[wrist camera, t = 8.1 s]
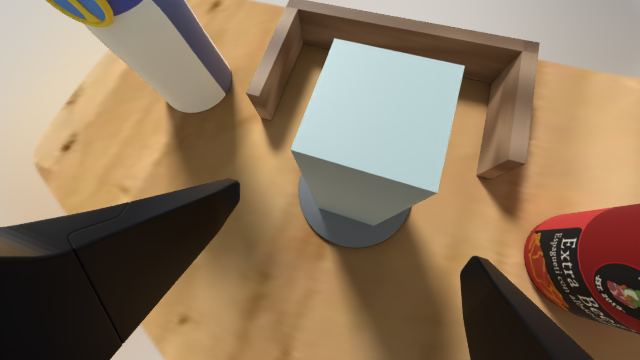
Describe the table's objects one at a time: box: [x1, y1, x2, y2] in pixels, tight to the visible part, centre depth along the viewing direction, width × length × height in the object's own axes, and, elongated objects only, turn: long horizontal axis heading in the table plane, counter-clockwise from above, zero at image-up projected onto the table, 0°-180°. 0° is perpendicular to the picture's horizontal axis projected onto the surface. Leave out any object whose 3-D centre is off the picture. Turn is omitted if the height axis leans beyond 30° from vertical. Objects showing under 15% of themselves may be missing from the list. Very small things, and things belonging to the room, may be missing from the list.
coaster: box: [299, 174, 410, 248], centre depth 21 cm, size 10×10×1 cm
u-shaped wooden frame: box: [246, 0, 539, 179], centre depth 22 cm, size 11×22×4 cm, turn 72°
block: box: [291, 39, 465, 226], centre depth 15 cm, size 5×5×13 cm
